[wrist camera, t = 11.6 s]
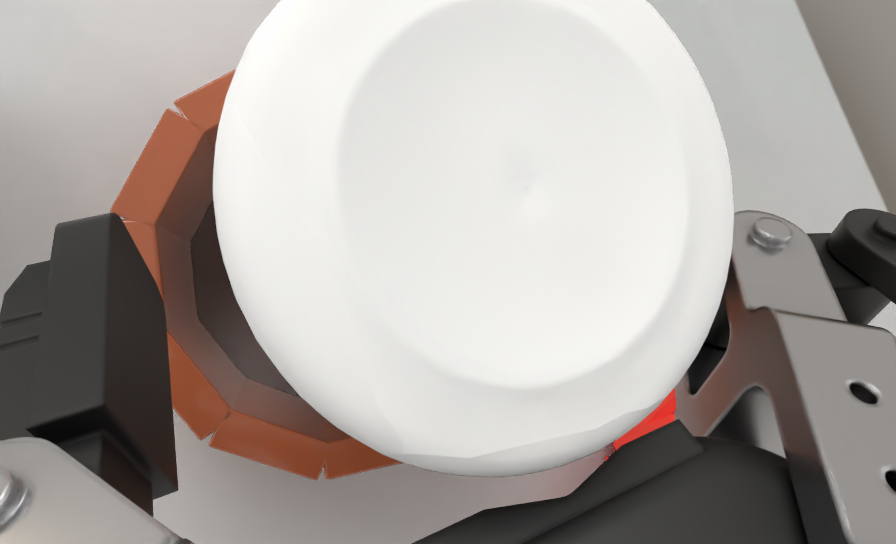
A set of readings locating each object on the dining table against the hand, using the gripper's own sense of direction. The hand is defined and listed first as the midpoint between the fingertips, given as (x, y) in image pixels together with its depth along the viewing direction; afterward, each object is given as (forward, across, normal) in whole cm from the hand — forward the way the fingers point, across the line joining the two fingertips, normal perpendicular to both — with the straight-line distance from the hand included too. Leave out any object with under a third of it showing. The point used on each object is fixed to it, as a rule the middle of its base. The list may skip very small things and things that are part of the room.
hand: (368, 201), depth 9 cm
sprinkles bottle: (+5, 0, +6) cm, 8 cm away
